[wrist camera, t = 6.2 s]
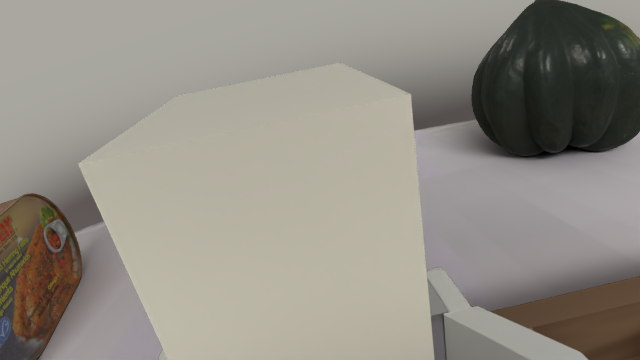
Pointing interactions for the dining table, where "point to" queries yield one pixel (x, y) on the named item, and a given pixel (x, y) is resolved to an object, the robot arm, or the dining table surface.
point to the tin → (34, 274)
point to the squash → (560, 82)
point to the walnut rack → (588, 320)
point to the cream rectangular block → (274, 220)
